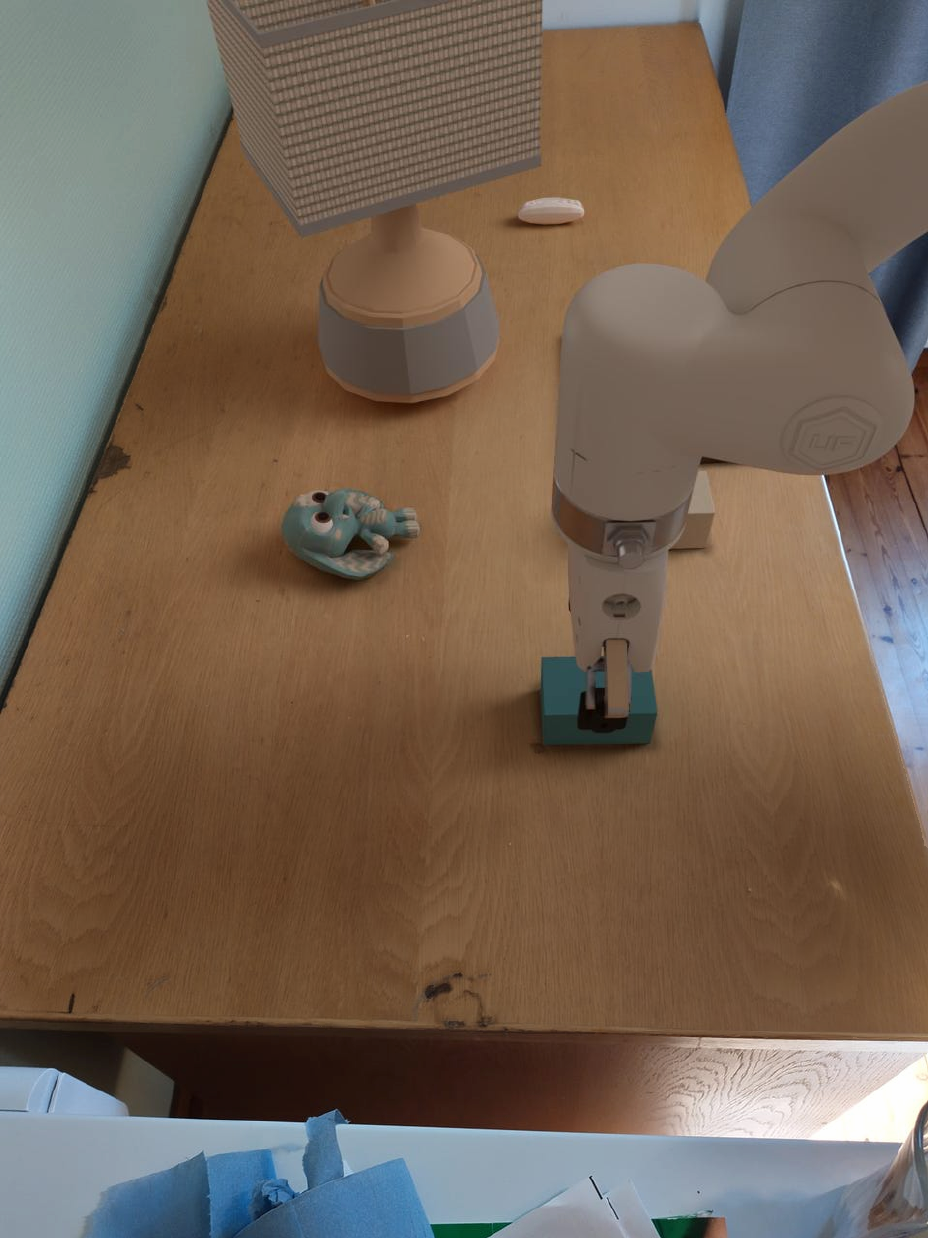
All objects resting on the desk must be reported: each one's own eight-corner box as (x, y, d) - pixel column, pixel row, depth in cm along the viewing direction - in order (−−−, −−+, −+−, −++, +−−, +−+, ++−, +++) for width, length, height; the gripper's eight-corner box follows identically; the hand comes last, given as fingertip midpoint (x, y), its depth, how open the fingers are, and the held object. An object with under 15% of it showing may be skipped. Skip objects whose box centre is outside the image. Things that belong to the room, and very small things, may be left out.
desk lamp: (465, 284, 103) (442, -115, 73) (544, 377, 92) (555, -45, 63) (287, 342, 98) (186, -60, 68) (349, 447, 87) (261, 26, 58)
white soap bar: (583, 226, 108) (585, 204, 106) (518, 228, 109) (518, 206, 107) (582, 212, 110) (584, 190, 108) (518, 215, 111) (518, 193, 108)
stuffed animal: (434, 533, 73) (285, 542, 70) (425, 589, 78) (287, 600, 76) (412, 446, 79) (274, 450, 76) (405, 503, 85) (277, 510, 82)
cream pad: (698, 506, 80) (706, 470, 77) (706, 548, 77) (715, 512, 74) (609, 508, 81) (613, 473, 77) (614, 550, 78) (618, 515, 74)
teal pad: (643, 686, 70) (649, 654, 66) (650, 743, 67) (657, 713, 63) (540, 688, 70) (541, 656, 66) (543, 745, 67) (544, 715, 63)
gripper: (714, 621, 44) (663, 777, 57) (669, 389, 54) (635, 569, 68) (560, 623, 44) (547, 778, 58) (545, 392, 54) (537, 571, 68)
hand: (595, 665), depth 63 cm, fingers open, 9 cm apart
